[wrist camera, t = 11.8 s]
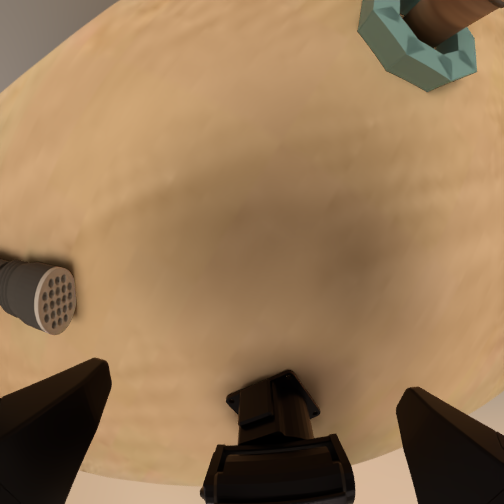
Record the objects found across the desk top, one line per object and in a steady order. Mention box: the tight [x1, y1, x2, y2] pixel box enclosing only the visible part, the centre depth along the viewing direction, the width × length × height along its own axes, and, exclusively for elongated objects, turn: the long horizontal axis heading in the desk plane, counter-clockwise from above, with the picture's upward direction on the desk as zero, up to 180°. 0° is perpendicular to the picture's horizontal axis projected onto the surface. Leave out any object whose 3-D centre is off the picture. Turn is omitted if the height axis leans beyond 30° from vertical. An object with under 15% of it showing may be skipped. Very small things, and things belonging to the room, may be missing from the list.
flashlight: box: [0, 258, 76, 335], centre depth 18 cm, size 15×5×5 cm, turn 83°
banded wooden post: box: [402, 0, 504, 48], centre depth 9 cm, size 4×4×13 cm
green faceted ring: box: [358, 0, 477, 92], centre depth 13 cm, size 10×10×4 cm
